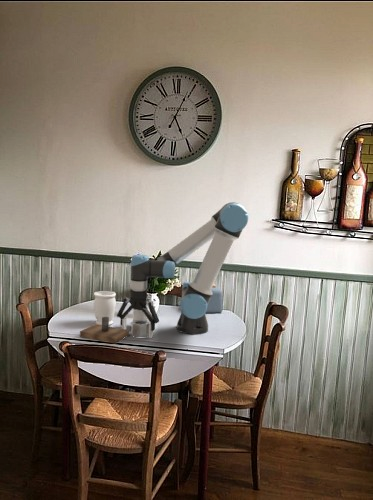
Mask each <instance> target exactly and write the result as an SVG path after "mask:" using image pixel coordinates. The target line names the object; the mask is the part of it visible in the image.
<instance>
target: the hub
mask: <svg viewBox="0 0 373 500" xmlns="http://www.w3.org/2000/svg"><path fill="white" fill-rule="evenodd" d="M149 324H150V322H149V321H146V320H134V321H133V320H132V321H131V328H130V335H131V336H132V337H133V336H134V337H133V338H136V337H147V336H148V337H149ZM148 337H147V338H148Z"/></svg>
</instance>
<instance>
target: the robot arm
mask: <svg viewBox="0 0 373 500" xmlns="http://www.w3.org/2000/svg"><path fill="white" fill-rule="evenodd" d="M248 221H249V214H248V211H247V209H246V208H245V207H244V205H242V204H240V203H237V202H234V201H233V202H228V203H226V204H224V205H223V206H222V207H221V208H220V209H218V211H217V212H215V213H214V214H213V215H211V219H210V220H208V221H207V222H206V223H204V224H203V225H202V226H200V227H199V228H197V229H196V230H195V231H193V232H192V233H190V235H188V236H187V237H185V238H184V239H183V240H181V241H180V242H179V243H177V244H176V245H174V246H173V247H172V248H171V249H169V250H168V251H167V252H165V253H164V254H161V255H159V256H158V258H157V259H156V260H153V259H152V260H151V259H149V256H148V255H147V254H140V253H139V254H134V255H132V256H131V261H130V262H131V264H130V284H129V285H130V287H129V288H130V292H129V297H130V298H129V297H128V296H127V297H124V298H123V302H122V304H121V306H120V307H119V310H118V312H117V314H116V317H117V318H120V326H121V329H125V330H127V316H128V315H129V314H130V312H131V311H133V309H135V310H136V309H137V310H142V312H144V314H145V315H146V317H147V318H148V320H149V321H150V324H149V336H148V339H151V338H153V336H154V334H153V333H154V331H155V330H156V324H157V323H159V322H160V319H159V317H158V315H157V312H156V309H155V307H154V301H153V300H151V301H148V300H147V297H148V290H147V289H148V280H149V279H148V278H160V279H161V278H163V279H173V278H174V277H175V274H176V272H175V271H176V266H177V265H178V264H179V263H181V262H182V261H183V260H185V259H186V258H188V257H189V256H191V255H193V253H195V252H196V251H198V250H199V249H201V247H204V245H206V244H207V243H209V242H210V241H211V242H210V243H209V244H210V245H209V246H208V248H207V251H206V253H205V256H204V257H203V259H202V261H201V264H200V266H199V269H198V271H197V273H196V276H195V277H194V280H193V281H184V282H183V283H182V287H181V300H180V303H179V308H180V310H181V312H180V315H179V317H178V321H177V323H176V330H177V331H179V332H180V331H181V333H183V332H184V334H188V333H189V334H190V335H199V334H200V335H201V334H206V333H207V332H208V331H209V323H208V319H207V315H206V313H205V312H206V311H207V305H208V303H209V301H210V299H211V296H212V294H213V293H212V290H211V288H212V286H213V284H215V283H216V280H217V278H218V275H219V273H220V271H221V268H222V266H223V264H224V263H225V260H226V258H227V256H228V254H229V252H230V249H231V247H232V245H233V243H234V241H235V240H237V239H239V238H240V236H241V234H242V232H243V230H244V229H245V228H246V226H247V225H248ZM128 304H130V305H129V306H128ZM146 305H148V306H149V310H150V312H149V311H148V308H147V307H146ZM127 306H128V308H127V309H126V307H127ZM125 309H126V310H125Z"/></svg>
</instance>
